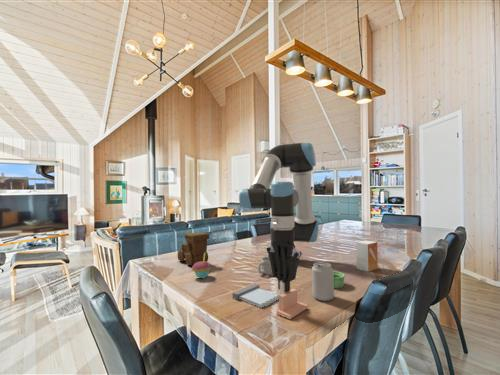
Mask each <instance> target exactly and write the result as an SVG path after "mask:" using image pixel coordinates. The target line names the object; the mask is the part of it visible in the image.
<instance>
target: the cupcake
mask: <svg viewBox="0 0 500 375" xmlns="http://www.w3.org/2000/svg"><path fill="white" fill-rule="evenodd" d="M211 269H212V264H210V263H209V262H208V261H207V262H206V261H205V253H204V257H203V261H200V262H196V263H193V264H192V265H191V270H192V272H194V273H195V276H197V277H199V278H204V279H206V278H208V275H209V273H210V270H211ZM197 277H196V278H197ZM205 277H206V278H205Z"/></svg>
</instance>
